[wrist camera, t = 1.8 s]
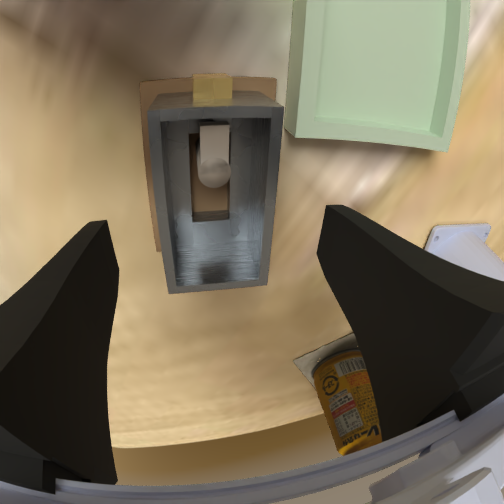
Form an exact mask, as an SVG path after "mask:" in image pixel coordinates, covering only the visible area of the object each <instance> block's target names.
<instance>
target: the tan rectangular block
mask: <svg viewBox="0 0 504 504" xmlns="http://www.w3.org/2000/svg"><path fill="white" fill-rule="evenodd" d="M232 78H233V83H232V91H260V92H261V93H263V94H264V95H266V96H268V97H269V98H271V99H272V100H274V101H275V97H276V83H277V79H275V78H266V77H232ZM176 92H193V77H192V78H175V79H162V80H151V81H142V82H140V103H141V120H142V134H143V146H144V157H145V167H146V177H147V186H148V194H149V202H150V210H151V217H152V224H153V231H154V238H155V244H156V250H157V252H159V251H162V250H161V243H160V237H159V229H158V222H157V214H156V206H155V198H154V189H153V179H152V169H151V159H150V147H149V133H148V117H147V110H148V109H149V107H150V106H151V104H152V103H153V101H154V99H155V98H156V96H157V95H158V94H163V93H176ZM199 126H200V133H190V134H189V164H190V186H191V205H192V212H201V211H216V210H227V182H228V180H229V179H230V176H231V168H230V165H229V124H228V122H227V121H221V122H199Z"/></svg>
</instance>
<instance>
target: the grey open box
mask: <svg viewBox="0 0 504 504" xmlns="http://www.w3.org/2000/svg"><path fill="white" fill-rule="evenodd" d="M232 83H233V78H232V77H230V76H229V75H227V74H225V73H220V74H193V92H176V93H163V94H158V95H157V96H156V98H155V99H154V101H153V103H152V104H151V106H150V107H149V109H148V110H147V117H148V133H149V147H150V159H151V169H152V179H153V189H154V198H155V206H156V214H157V222H158V229H159V237H160V243H161V250H162V257H163V263H164V269H165V275H166V281H167V287H168V292H169V294H174V293H187V292H199V291H210V290H222V289H232V288H243V287H253V286H263V285H267V282H268V272H269V263H270V253H271V244H272V234H273V224H274V213H275V203H276V193H277V182H278V171H279V160H280V149H281V137H282V126H283V114H284V107H283V106H282V105H280V104H279V103H277V102H275V101H274V100H272V99H271V98H269V97H268V96H266V95H264V94H263V93H261V92H260V91H232ZM221 121H227V122H228V124H229V165H230V168H231V176H230V179H229V180H228V182H227V210H216V211H201V212H192V205H191V186H190V164H189V134H190V133H200V126H199V122H221Z"/></svg>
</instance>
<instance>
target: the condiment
mask: <svg viewBox="0 0 504 504" xmlns="http://www.w3.org/2000/svg"><path fill="white" fill-rule="evenodd" d="M357 346H358V347H357ZM319 358H320V359H319ZM318 359H319V360H318ZM317 361H319V362H317ZM293 362H294V363H295V365H296V366H297V367H298V368H299V370H300V371H301V372H302V373H303V374H304V376H305V377H306V378H307V379H308V380H309V382H310V383H311V384H312V386H313V387H314V388H315V389H316V391H317V394H318V398H319V400H320V403H321V406H322V409H323V410H324V413H325V417H326V419H327V422H328V425H329V428H330V430H331V433H332V436H333V439H334V442H335V445H336V448H337V451H338V452H339V453H340V454H341V455H343V456H345V455H348V454H351V453H354V452H357V451H360V450H363V449H366V448H369V447H371V446H374V445H377V444H379V443H382V437H381V429H380V424H379V418H378V413H377V407H376V403H375V399H374V395H373V391H372V387H371V383H370V379H369V376H368V373H367V369H366V366H365V363H364V360H363V357H362V354H361V351H360V348H359V345H358V343H357V340H356V337H355V335H354V333H352V334H350V335H347V336H345V337H344V338H341V339H338V340H336V341H334V342H332V343H330V344H328V345H326V346H322V347H321V348H319V349H318V350H316V351H313V352H311V353H308V354H306V355H304V356H302V357H300V358H298V359H296V360H293Z"/></svg>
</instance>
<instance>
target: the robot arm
mask: <svg viewBox="0 0 504 504" xmlns="http://www.w3.org/2000/svg"><path fill="white" fill-rule="evenodd" d="M490 230H491V226H490V225H489V224H488V223H482V224H458V225H438V226H435V227H434V228H433V229H432V231H431V234H430V236H429V239H428V242H427V244H426V247H425V249H422V248H420V247H418V246H416V245H414V244H412V243H411V242H409V241H407V240H405V239H403V238H402V237H400V236H398V235H396V234H395V233H393V232H391V231H390V230H388V229H386V228H384V227H383V226H381V225H379V224H378V223H376V222H374V221H373V220H371V219H369V218H367V217H366V216H364V215H362V214H360V213H358V212H357V211H355V210H353V209H351V208H349V207H346V206H344V205H326V209H325V214H324V219H323V224H322V229H321V234H320V239H319V244H318V249H317V256H318V259H319V262H320V265H321V268H322V270H323V273H324V276H325V278H326V280H327V282H328V284H329V286H330V288H331V290H332V292H333V293H334V295H335V297H336V299H337V301H338V303H339V305H340V307H341V309H342V311H343V312H344V314H345V316H346V318H347V320H348V322H349V324H350V326H351V328H352V330H353V333H354V335H355V337H356V340H357V343H358V345H359V348H360V351H361V354H362V357H363V360H364V363H365V366H366V369H367V373H368V376H369V379H370V383H371V387H372V391H373V395H374V399H375V403H376V407H377V413H378V418H379V424H380V429H381V437H382V443H379V444H377V445H374V446H371V447H369V448H366V449H363V450H360V451H357V452H354V453H351V454H348V455H345V456H342V457H338V458H335V459H332V460H328V461H325V462H321V463H318V464H314V465H310V466H306V467H302V468H298V469H294V470H289V471H285V472H280V473H275V474H270V475H265V476H259V477H253V478H247V479H240V480H233V481H225V482H216V483H206V484H193V485H175V486H128V485H115V484H116V482H117V481H118V479H117V474H116V470H115V464H114V458H113V452H112V446H111V438H110V429H109V419H108V402H107V361H108V351H109V344H110V338H111V332H112V326H113V320H114V314H115V308H116V303H117V297H118V284H119V267H118V263H117V259H116V256H115V252H114V248H113V244H112V240H111V235H110V231H109V227H108V222H107V220H102V221H92V222H89V223H88V224H86V225H85V226H84V227H83V228H82V229H81V230H80V231H79V232H78V233H77V234H76V235H75V236H74V237H73V238H72V239H71V240H70V241H69V242H68V243H67V244H66V245H65V246H64V247H63V248H62V249H61V250H60V251H59V252H58V253H57V254H56V255H55V256H54V257H53V258H52V259H51V260H50V261H49V262H48V263H47V264H46V265H45V266H43V267H42V268H41V269H40V270H39V271H38V272H37V273H36V274H35V275H34V276H33V277H32V278H31V279H30V280H29V281H28V282H27V283H26V284H25V285H24V286H23V287H21V288H20V289H19V290H18V291H17V292H16V293H15V294H13V295H12V296H11V297H10V298H9V299H8V300H6V301H5V302H4V303H3V304H1V305H0V504H269V503H274V502H279V501H284V500H288V499H293V498H297V497H301V496H305V495H308V494H312V493H316V492H319V491H323V490H326V489H330V488H333V487H336V486H339V485H342V484H345V483H348V482H351V481H354V480H357V479H360V478H362V477H365V476H368V475H370V474H373V473H376V472H378V471H380V470H383V469H385V468H388V467H390V466H392V465H395V464H397V463H399V462H401V461H404V460H406V459H408V458H410V457H412V456H414V455H416V454H418V453H420V452H421V453H420V455H419V457H418V459H417V460H415V461H413V462H411V463H409V464H407V465H405V466H403V467H401V468H399V469H398V470H397V471H395V472H394V473H392V474H390V475H388V476H387V477H385V478H383V479H381V480H379V481H377V482H375V483H373V484H371V485H370V486H369V490H370V492H371V495H372V501H370V502H368V503H365V504H504V498H503V495H502V493H501V489H502V487H503V486H504V262H503V261H502V260H501V259H500V258H499V257H498V256H497V255H496V254H495V253H494V252H493V251H492V250H491V249H490V248H489V247H488V246H487V245H486V244H485V241H486V239H487V237H488V234H489V232H490Z"/></svg>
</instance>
